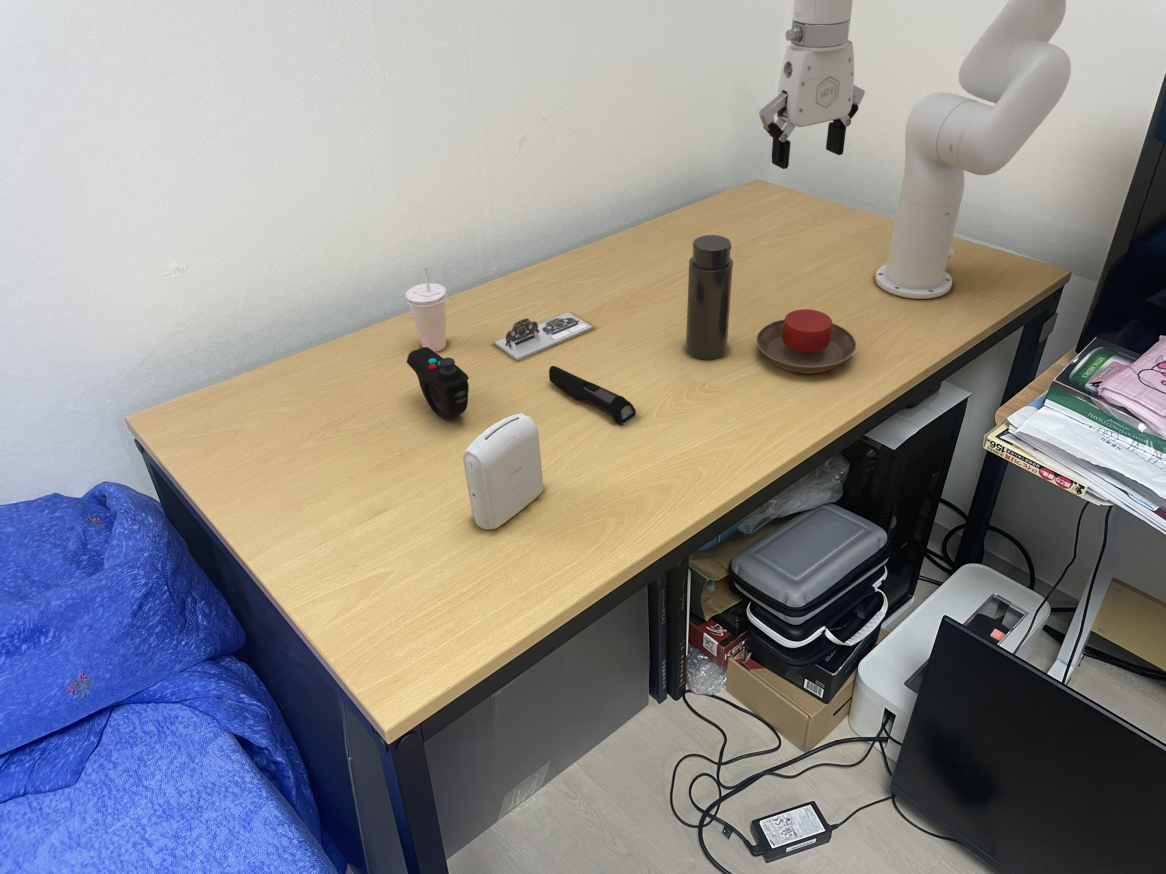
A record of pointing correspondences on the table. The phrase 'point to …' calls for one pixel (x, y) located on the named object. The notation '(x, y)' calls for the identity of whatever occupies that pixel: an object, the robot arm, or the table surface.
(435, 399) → the controller
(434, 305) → the smoothie
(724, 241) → the thermos
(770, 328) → the saucer
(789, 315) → the lid
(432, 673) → the table surface
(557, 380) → the electric trimmer
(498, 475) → the photo printer
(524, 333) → the car cutout
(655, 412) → the table surface
